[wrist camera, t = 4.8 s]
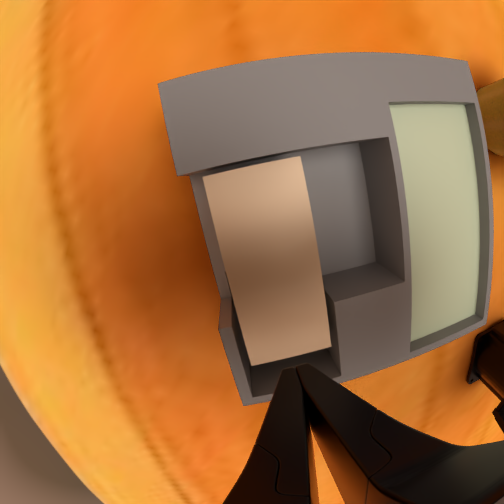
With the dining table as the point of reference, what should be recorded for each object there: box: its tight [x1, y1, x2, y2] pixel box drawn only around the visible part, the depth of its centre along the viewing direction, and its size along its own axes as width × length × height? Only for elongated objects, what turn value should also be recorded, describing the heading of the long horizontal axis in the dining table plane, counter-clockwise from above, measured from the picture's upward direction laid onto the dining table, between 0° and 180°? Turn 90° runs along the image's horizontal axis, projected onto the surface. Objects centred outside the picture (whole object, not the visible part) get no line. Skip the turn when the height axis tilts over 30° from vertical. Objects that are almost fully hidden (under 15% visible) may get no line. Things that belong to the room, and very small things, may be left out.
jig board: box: [158, 52, 494, 406], centre depth 16 cm, size 16×16×6 cm
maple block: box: [203, 156, 331, 366], centre depth 15 cm, size 9×4×4 cm, turn 12°
